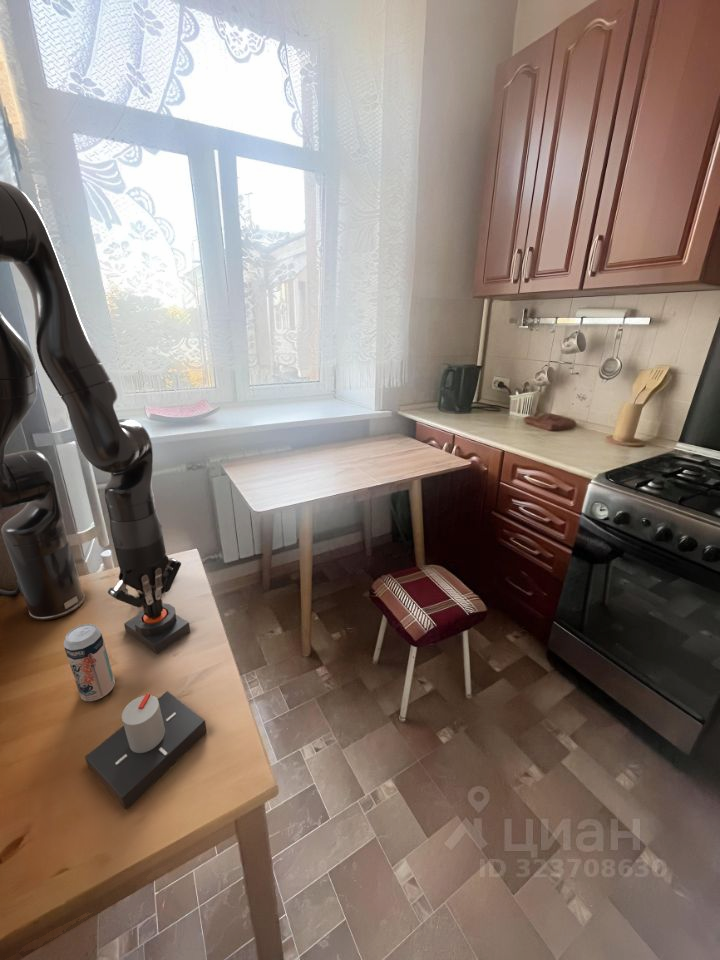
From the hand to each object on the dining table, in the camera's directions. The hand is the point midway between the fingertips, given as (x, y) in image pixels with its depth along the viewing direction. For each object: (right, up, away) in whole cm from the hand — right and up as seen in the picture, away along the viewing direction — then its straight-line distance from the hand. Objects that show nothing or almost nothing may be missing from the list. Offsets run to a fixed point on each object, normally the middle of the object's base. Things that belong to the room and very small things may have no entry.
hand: (154, 615), depth 74 cm
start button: (0, -2, +1) cm, 2 cm away
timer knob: (+9, -10, -20) cm, 24 cm away
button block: (0, -4, +2) cm, 4 cm away
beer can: (-4, -9, -10) cm, 14 cm away
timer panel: (+9, -12, -19) cm, 24 cm away
